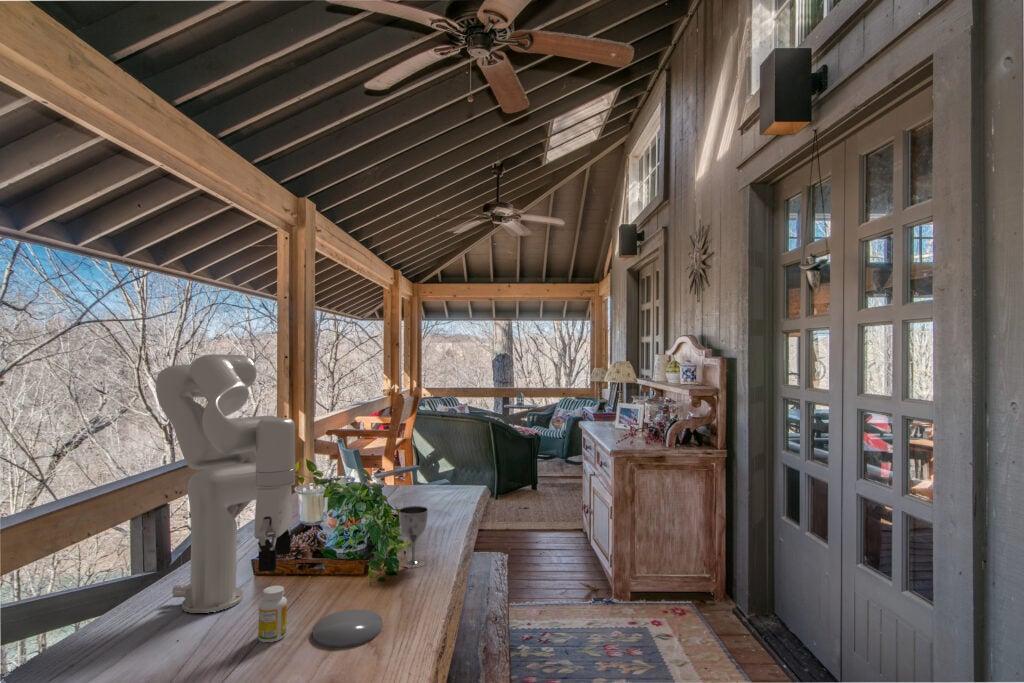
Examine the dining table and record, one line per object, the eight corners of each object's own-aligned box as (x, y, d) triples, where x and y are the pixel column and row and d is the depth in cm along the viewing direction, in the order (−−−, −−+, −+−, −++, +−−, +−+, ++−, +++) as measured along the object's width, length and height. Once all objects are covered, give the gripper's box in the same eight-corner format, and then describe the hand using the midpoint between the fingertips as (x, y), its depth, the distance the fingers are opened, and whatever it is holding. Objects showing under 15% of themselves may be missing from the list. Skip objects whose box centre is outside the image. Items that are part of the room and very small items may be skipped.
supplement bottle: (265, 646, 108) (266, 597, 109) (253, 637, 112) (254, 590, 112) (291, 635, 113) (292, 588, 113) (278, 627, 116) (279, 582, 116)
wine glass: (421, 570, 148) (421, 514, 149) (394, 567, 150) (394, 512, 150) (431, 559, 156) (431, 506, 156) (405, 557, 158) (405, 505, 158)
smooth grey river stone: (305, 649, 107) (305, 643, 107) (321, 616, 121) (321, 611, 121) (377, 645, 109) (377, 639, 109) (385, 613, 123) (386, 607, 123)
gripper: (270, 471, 121) (270, 549, 121) (240, 487, 104) (240, 579, 103) (305, 470, 122) (305, 547, 121) (281, 486, 105) (281, 576, 104)
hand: (275, 562), depth 112 cm, fingers open, 9 cm apart
